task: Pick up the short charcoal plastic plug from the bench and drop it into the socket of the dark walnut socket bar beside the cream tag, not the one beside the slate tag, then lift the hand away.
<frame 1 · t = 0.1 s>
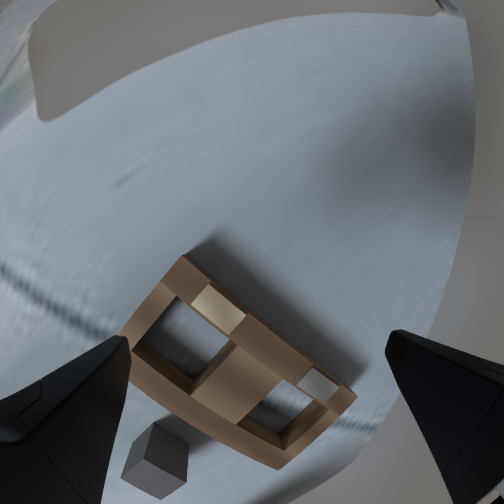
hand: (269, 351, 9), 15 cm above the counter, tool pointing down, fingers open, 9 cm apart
socket bar: (233, 373, 24), on the counter
plug: (160, 443, 24), on the counter
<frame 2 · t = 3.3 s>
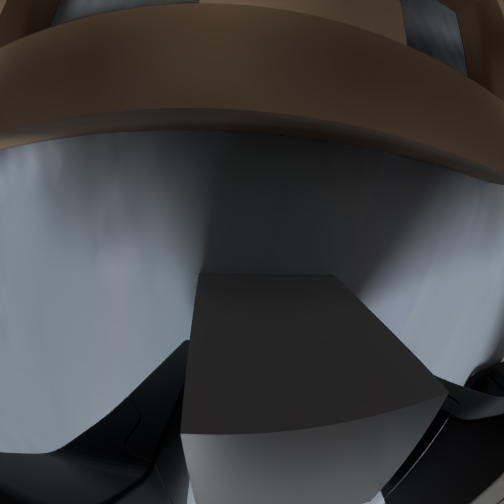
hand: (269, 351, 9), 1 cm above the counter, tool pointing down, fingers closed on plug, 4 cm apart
plug: (264, 334, 10), on the counter, touching gripper
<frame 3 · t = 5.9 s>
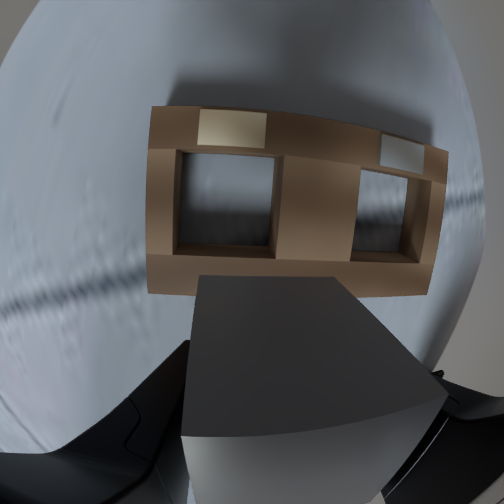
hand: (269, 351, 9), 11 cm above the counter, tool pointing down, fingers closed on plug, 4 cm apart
socket bar: (305, 205, 19), on the counter
plug: (264, 335, 10), point 10 cm above the counter, touching gripper
when the fingers open (4 cm above the counter, at t = 8.5 s): plug drops 3 cm, resting in socket bar.
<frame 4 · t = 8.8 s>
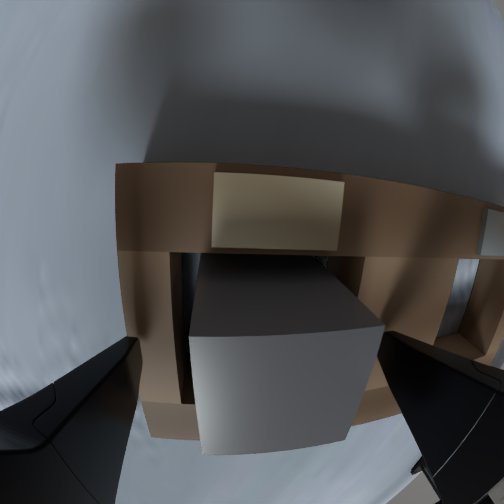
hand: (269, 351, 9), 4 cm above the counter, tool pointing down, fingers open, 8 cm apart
socket bar: (367, 299, 13), on the counter
plug: (254, 302, 12), resting in socket bar
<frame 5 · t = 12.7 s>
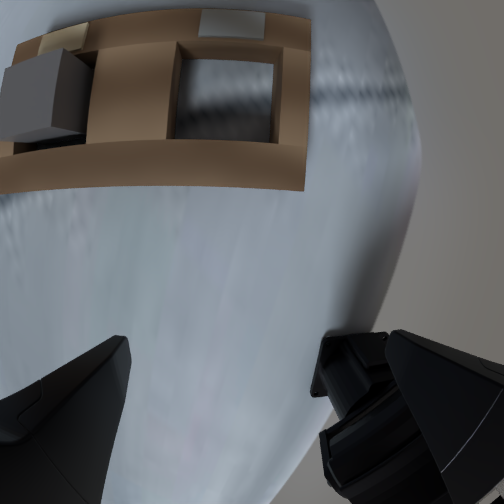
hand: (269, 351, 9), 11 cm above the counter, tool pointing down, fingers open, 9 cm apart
socket bar: (141, 101, 16), on the counter
plug: (72, 110, 15), resting in socket bar
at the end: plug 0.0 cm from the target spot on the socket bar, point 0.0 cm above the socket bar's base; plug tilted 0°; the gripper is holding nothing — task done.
